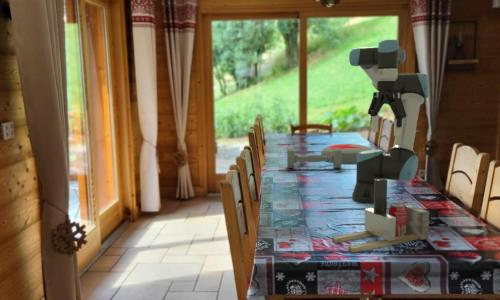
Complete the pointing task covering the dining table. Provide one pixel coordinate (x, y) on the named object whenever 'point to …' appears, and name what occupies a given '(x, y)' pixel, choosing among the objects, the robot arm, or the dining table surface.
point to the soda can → (399, 217)
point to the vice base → (414, 227)
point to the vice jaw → (380, 213)
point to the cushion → (346, 151)
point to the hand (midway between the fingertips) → (385, 133)
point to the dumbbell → (314, 158)
